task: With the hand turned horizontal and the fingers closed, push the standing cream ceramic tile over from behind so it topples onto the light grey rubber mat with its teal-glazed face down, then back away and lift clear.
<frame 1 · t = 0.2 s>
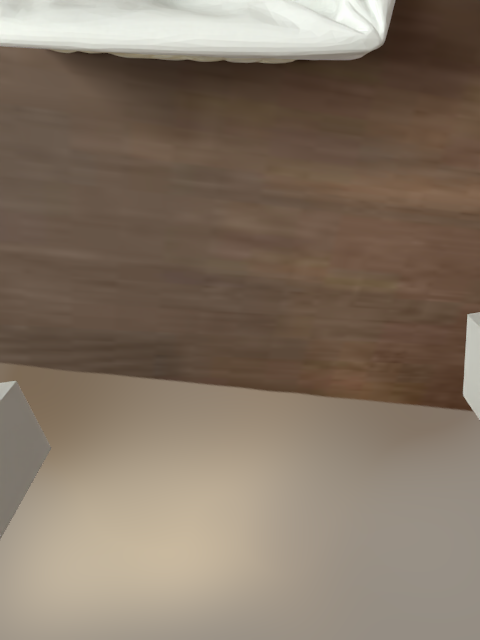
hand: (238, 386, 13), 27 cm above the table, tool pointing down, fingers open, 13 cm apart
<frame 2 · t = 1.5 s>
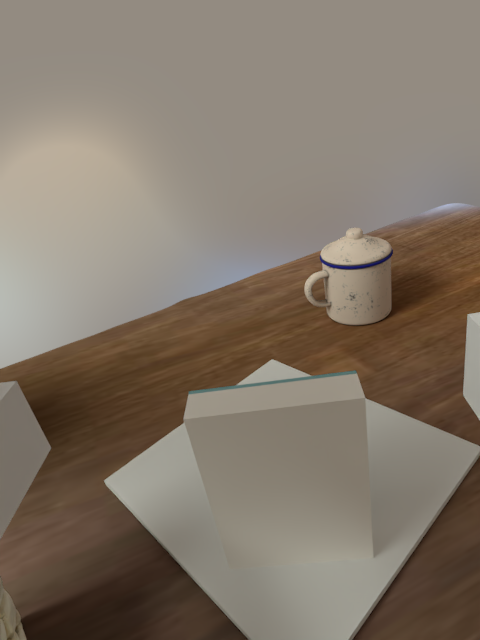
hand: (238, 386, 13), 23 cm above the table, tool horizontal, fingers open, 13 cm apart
teacup with lid: (349, 315, 61), on the table
mat: (283, 469, 39), on the table
tile: (298, 547, 32), point 1 cm above the table, touching mat
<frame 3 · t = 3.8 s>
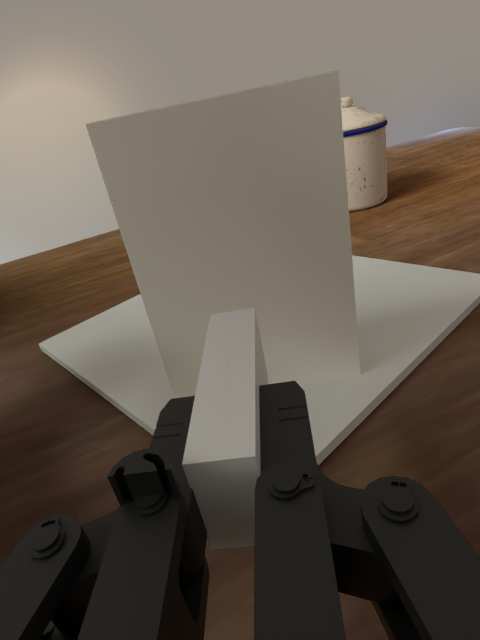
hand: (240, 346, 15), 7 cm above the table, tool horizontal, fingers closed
teacup with lid: (340, 207, 54), on the table
mat: (254, 319, 32), on the table
tile: (265, 374, 25), point 1 cm above the table, touching mat
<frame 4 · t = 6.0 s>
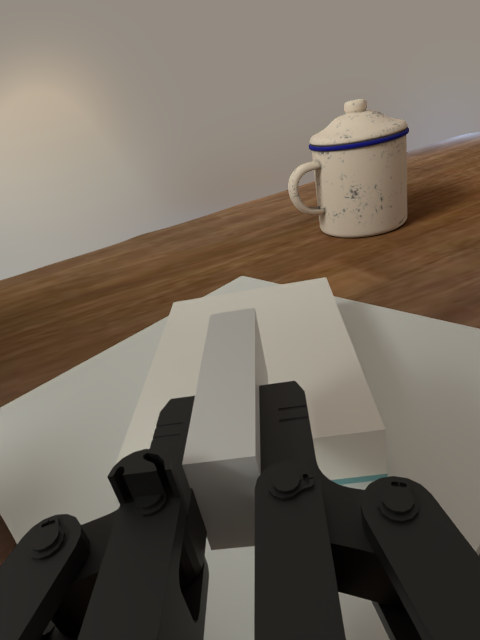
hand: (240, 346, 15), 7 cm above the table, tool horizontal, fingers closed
teacup with lid: (350, 230, 45), on the table
mat: (244, 405, 23), on the table
tile: (252, 471, 17), point 2 cm above the table, tilted 90°, touching mat
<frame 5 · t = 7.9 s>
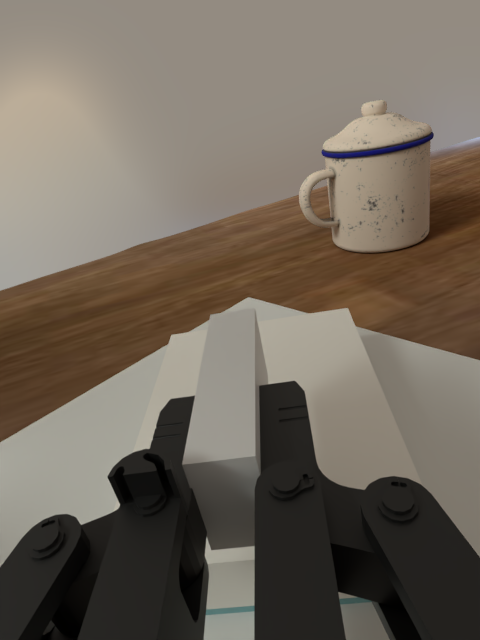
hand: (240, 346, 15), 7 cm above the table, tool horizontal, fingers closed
teacup with lid: (366, 243, 41), on the table
mat: (254, 468, 19), on the table
tile: (268, 585, 13), point 2 cm above the table, tilted 90°, touching mat
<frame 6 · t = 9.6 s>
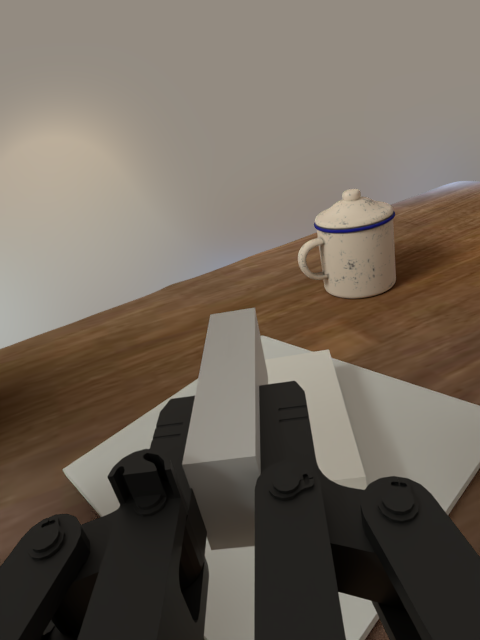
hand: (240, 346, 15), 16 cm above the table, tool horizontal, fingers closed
teacup with lid: (349, 289, 55), on the table
mat: (272, 450, 33), on the table
tile: (282, 502, 26), point 2 cm above the table, tilted 90°, touching mat
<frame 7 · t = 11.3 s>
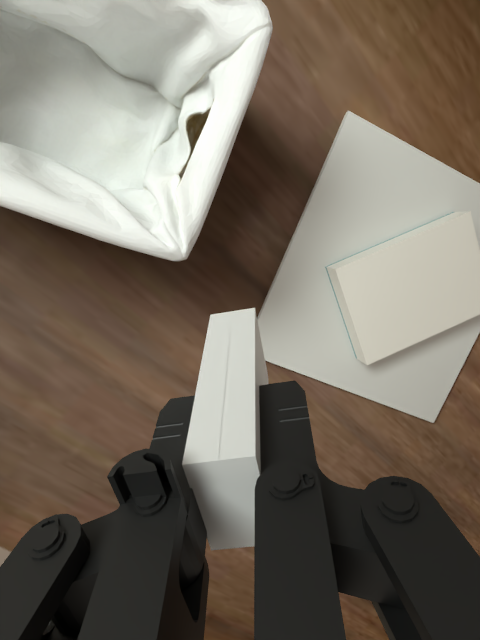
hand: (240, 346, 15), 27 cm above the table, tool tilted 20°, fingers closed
storage basket: (73, 114, 37), on the table
mat: (392, 281, 44), on the table
tile: (346, 316, 42), point 2 cm above the table, tilted 90°, touching mat
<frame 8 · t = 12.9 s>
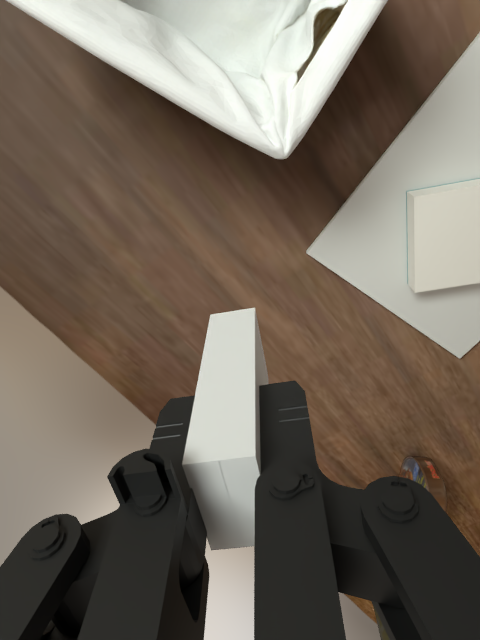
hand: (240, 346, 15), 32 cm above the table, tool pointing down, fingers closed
mat: (467, 220, 45), on the table
tile: (410, 243, 45), point 2 cm above the table, tilted 90°, touching mat
tin: (407, 481, 63), on the table
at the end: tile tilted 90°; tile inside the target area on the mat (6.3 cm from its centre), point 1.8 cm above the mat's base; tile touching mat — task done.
